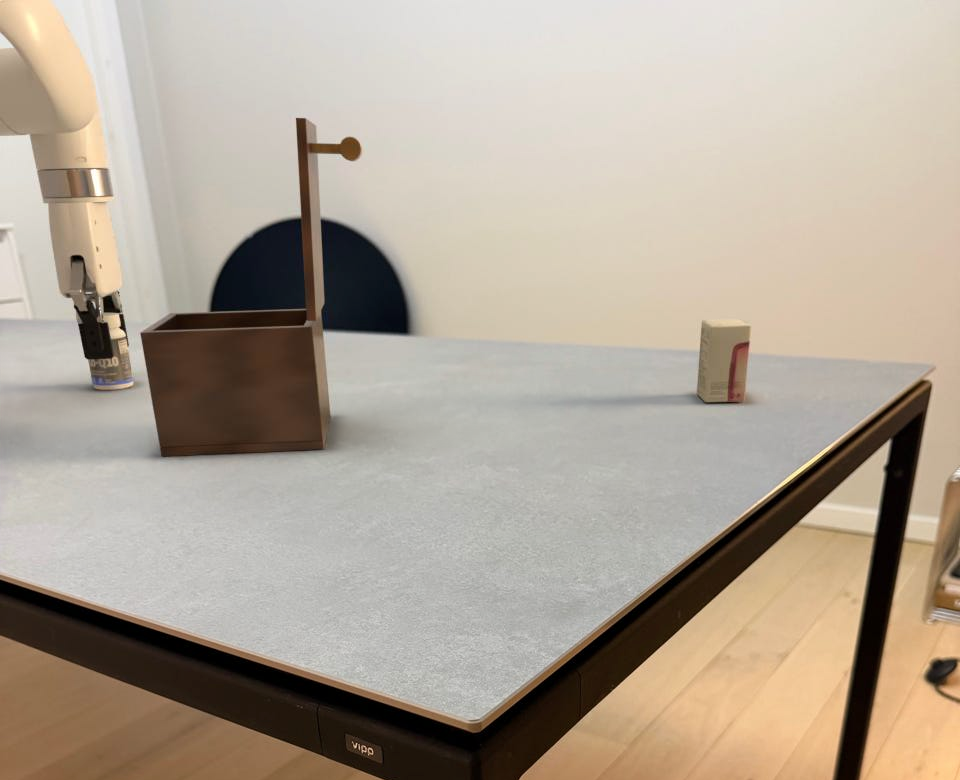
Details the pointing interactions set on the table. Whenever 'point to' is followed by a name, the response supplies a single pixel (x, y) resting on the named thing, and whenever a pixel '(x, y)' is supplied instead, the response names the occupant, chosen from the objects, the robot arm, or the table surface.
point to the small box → (723, 360)
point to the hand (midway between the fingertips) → (107, 352)
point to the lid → (315, 206)
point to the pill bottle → (113, 360)
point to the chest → (237, 382)
